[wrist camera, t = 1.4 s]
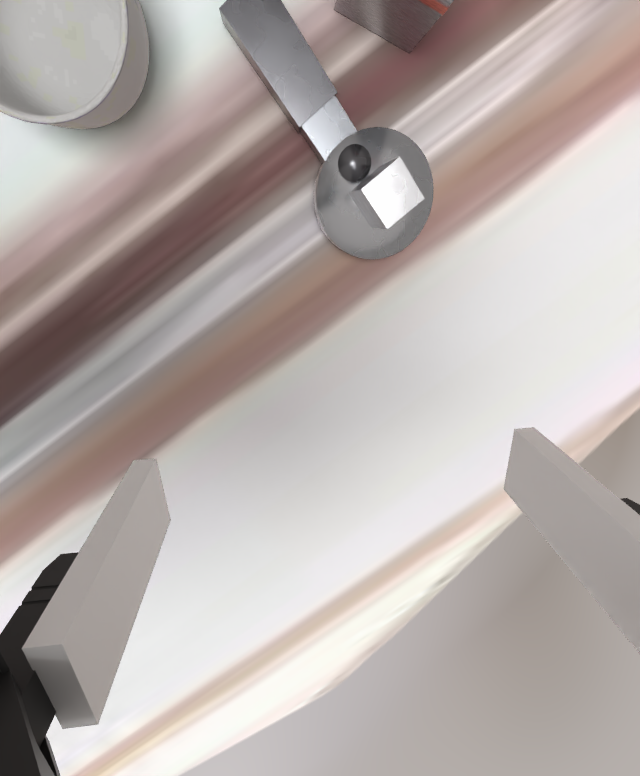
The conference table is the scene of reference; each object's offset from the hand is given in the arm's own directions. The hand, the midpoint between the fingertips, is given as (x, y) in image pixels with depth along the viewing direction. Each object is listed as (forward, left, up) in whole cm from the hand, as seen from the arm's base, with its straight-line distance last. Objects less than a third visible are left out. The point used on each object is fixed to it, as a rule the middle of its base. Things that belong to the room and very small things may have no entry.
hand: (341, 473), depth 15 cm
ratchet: (-10, +11, -23) cm, 27 cm away
